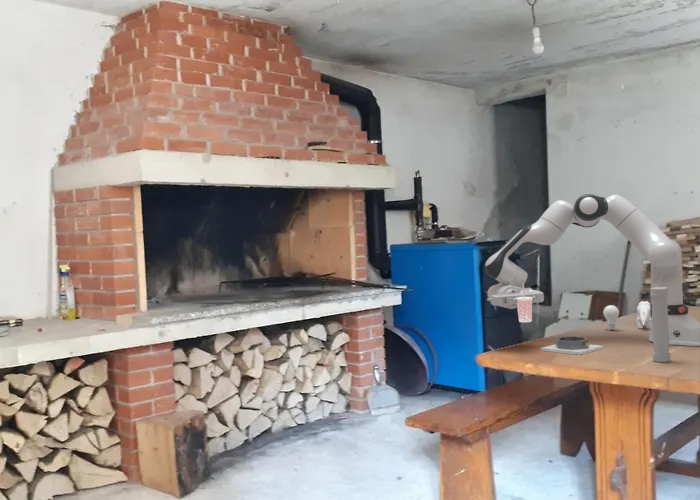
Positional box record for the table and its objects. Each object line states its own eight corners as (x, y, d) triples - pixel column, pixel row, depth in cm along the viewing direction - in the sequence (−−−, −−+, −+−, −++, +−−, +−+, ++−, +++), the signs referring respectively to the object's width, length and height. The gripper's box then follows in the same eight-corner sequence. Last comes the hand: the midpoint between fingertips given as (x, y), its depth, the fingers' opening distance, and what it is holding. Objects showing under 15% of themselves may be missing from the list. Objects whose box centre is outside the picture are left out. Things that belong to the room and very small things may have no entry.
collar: (596, 346, 252) (596, 338, 251) (580, 350, 244) (579, 342, 244) (564, 343, 262) (564, 335, 262) (547, 347, 255) (547, 339, 255)
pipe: (649, 360, 227) (645, 270, 227) (667, 358, 228) (663, 269, 227) (658, 363, 222) (654, 271, 221) (676, 361, 222) (673, 270, 222)
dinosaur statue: (654, 322, 304) (653, 298, 303) (652, 336, 283) (651, 310, 282) (637, 322, 307) (636, 298, 306) (634, 335, 286) (633, 309, 285)
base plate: (603, 348, 252) (603, 345, 252) (579, 355, 242) (579, 352, 242) (565, 344, 264) (565, 341, 264) (541, 350, 254) (541, 347, 254)
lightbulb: (621, 331, 289) (620, 305, 288) (605, 331, 290) (604, 306, 290) (618, 329, 295) (617, 304, 295) (602, 329, 296) (601, 304, 296)
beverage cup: (531, 322, 250) (528, 284, 250) (514, 322, 253) (512, 285, 253) (535, 320, 255) (533, 283, 255) (519, 320, 259) (517, 283, 258)
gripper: (484, 291, 265) (498, 294, 252) (533, 287, 269) (549, 289, 255) (485, 307, 265) (499, 310, 252) (534, 303, 269) (550, 306, 255)
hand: (525, 300), depth 253 cm, fingers closed on beverage cup, 6 cm apart
